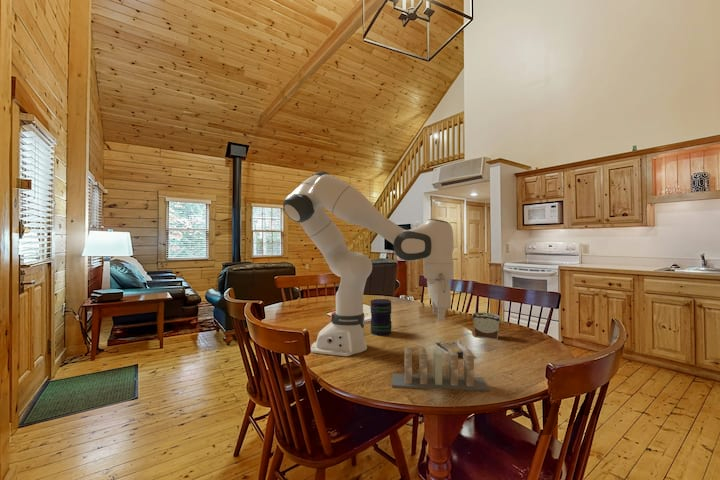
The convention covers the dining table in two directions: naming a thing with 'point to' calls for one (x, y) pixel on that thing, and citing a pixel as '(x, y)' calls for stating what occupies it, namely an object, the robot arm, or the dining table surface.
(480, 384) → the domino mat
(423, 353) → the domino
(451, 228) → the robot arm
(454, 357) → the domino
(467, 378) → the domino
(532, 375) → the dining table surface
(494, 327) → the food container
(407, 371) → the domino
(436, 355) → the sage domino
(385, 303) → the storage jar
